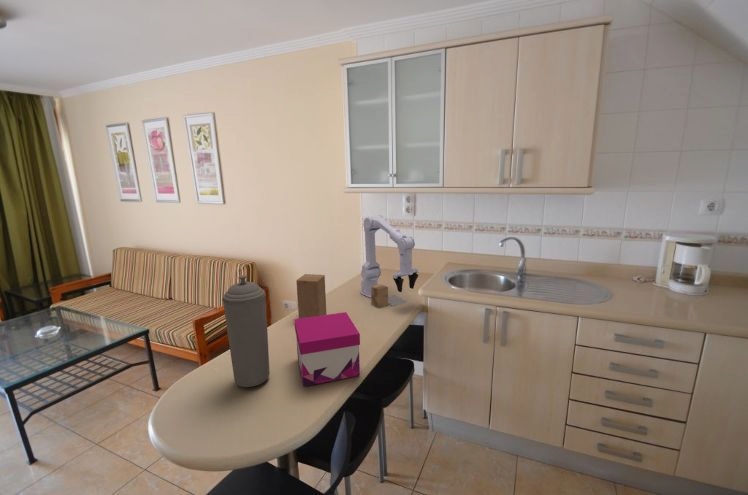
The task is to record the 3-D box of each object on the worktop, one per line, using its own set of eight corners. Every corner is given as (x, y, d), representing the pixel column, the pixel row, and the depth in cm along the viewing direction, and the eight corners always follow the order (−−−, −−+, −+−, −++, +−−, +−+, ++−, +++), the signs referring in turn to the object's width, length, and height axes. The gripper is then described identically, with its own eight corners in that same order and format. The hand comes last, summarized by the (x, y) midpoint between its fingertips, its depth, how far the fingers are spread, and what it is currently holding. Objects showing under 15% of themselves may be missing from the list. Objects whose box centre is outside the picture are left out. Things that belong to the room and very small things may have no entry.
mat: (378, 300, 180) (378, 299, 179) (394, 295, 186) (394, 295, 186) (393, 307, 170) (393, 306, 170) (409, 302, 177) (409, 301, 177)
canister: (237, 395, 103) (225, 284, 95) (227, 376, 113) (215, 275, 106) (278, 380, 110) (270, 276, 103) (265, 363, 120) (256, 268, 113)
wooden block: (319, 323, 152) (317, 281, 148) (298, 322, 154) (295, 280, 150) (326, 314, 162) (324, 274, 158) (307, 313, 164) (304, 273, 160)
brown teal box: (371, 305, 173) (371, 286, 171) (380, 302, 177) (380, 284, 175) (378, 308, 168) (378, 289, 166) (388, 305, 172) (387, 287, 170)
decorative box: (347, 348, 130) (346, 312, 127) (360, 375, 112) (359, 333, 109) (296, 357, 124) (294, 319, 121) (302, 387, 106) (299, 343, 103)
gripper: (400, 266, 154) (400, 295, 156) (422, 261, 162) (422, 288, 165) (390, 263, 159) (390, 291, 162) (412, 259, 168) (412, 285, 170)
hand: (405, 289), depth 164 cm, fingers open, 7 cm apart
